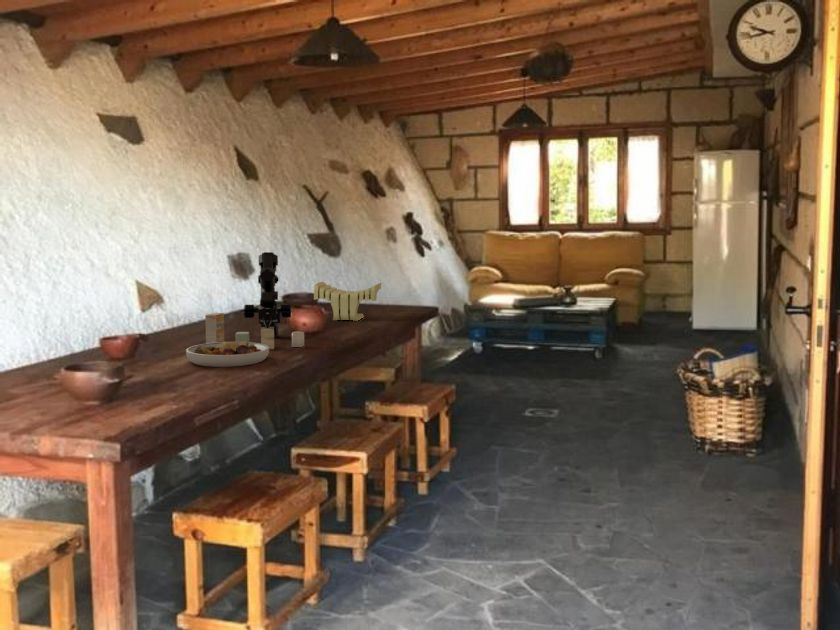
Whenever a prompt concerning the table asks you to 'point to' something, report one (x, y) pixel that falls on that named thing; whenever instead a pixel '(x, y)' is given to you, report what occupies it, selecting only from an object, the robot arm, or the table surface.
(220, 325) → the supplement box
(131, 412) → the table surface
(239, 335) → the sage cube
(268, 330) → the beech block
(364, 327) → the table surface
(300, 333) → the beige square block
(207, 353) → the bowl
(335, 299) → the slatted curved stool
